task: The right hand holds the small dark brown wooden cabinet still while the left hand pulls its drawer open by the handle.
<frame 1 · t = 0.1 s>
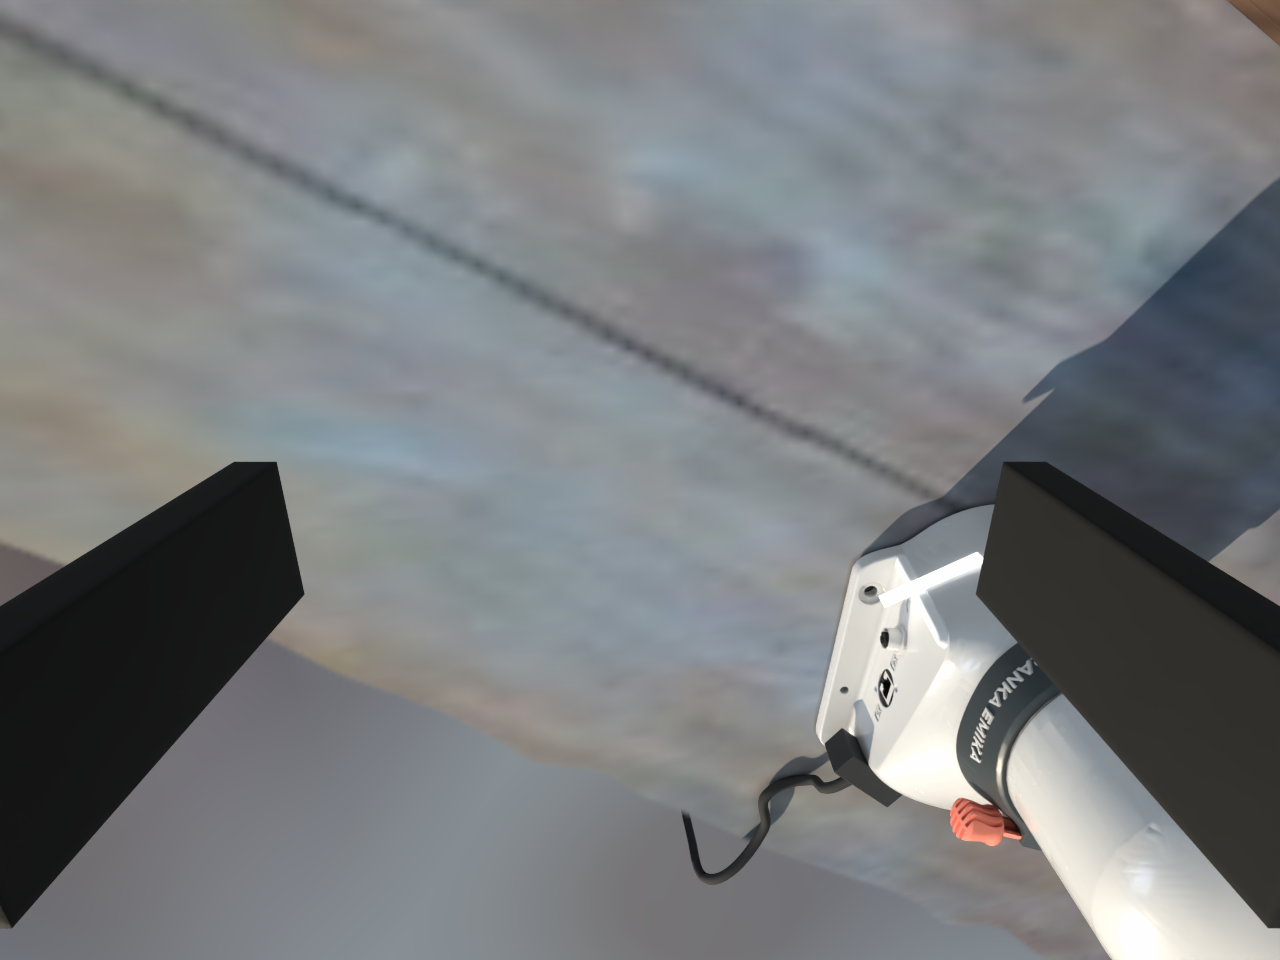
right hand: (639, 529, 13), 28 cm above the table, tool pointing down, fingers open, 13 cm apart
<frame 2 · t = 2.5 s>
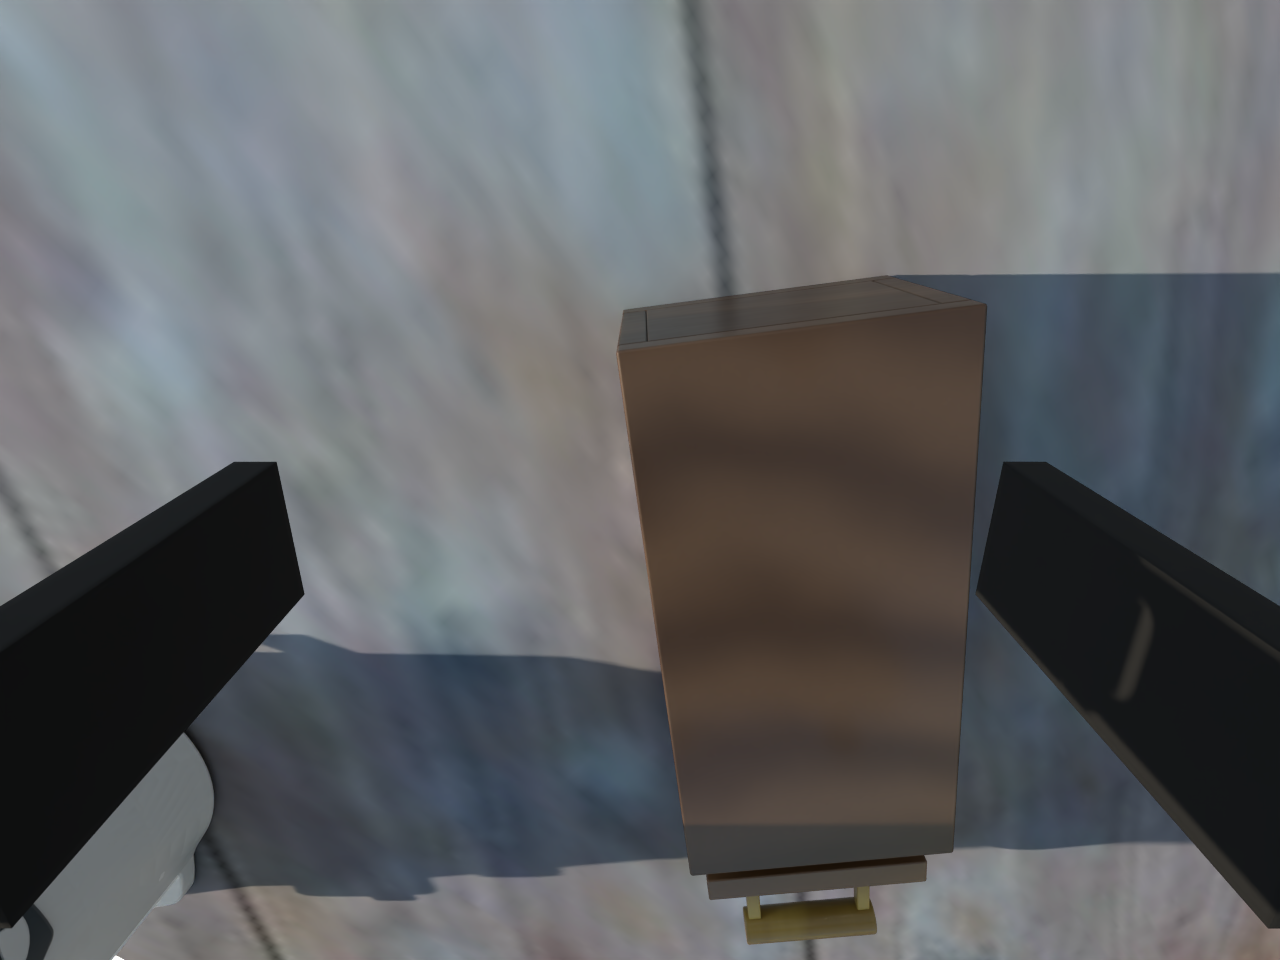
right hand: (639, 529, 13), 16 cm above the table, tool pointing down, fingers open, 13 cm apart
drawer: (794, 710, 29), point 4 cm above the table, slide at 1.6 cm
cabinet: (769, 533, 31), on the table
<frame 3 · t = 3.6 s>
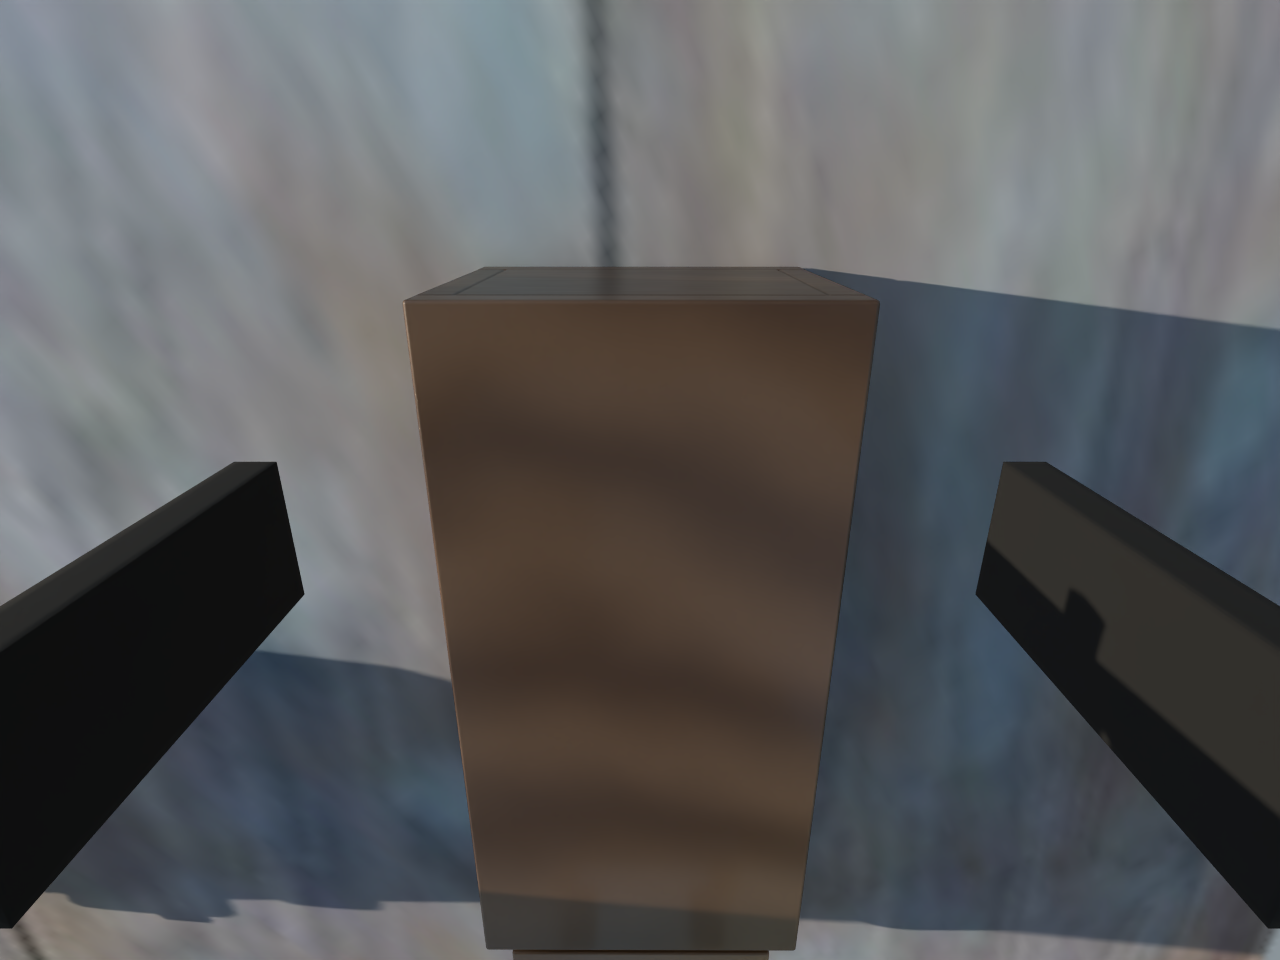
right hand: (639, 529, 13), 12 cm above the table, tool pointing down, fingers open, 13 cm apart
drawer: (641, 762, 25), point 4 cm above the table, slide at 1.6 cm
cabinet: (641, 553, 26), on the table
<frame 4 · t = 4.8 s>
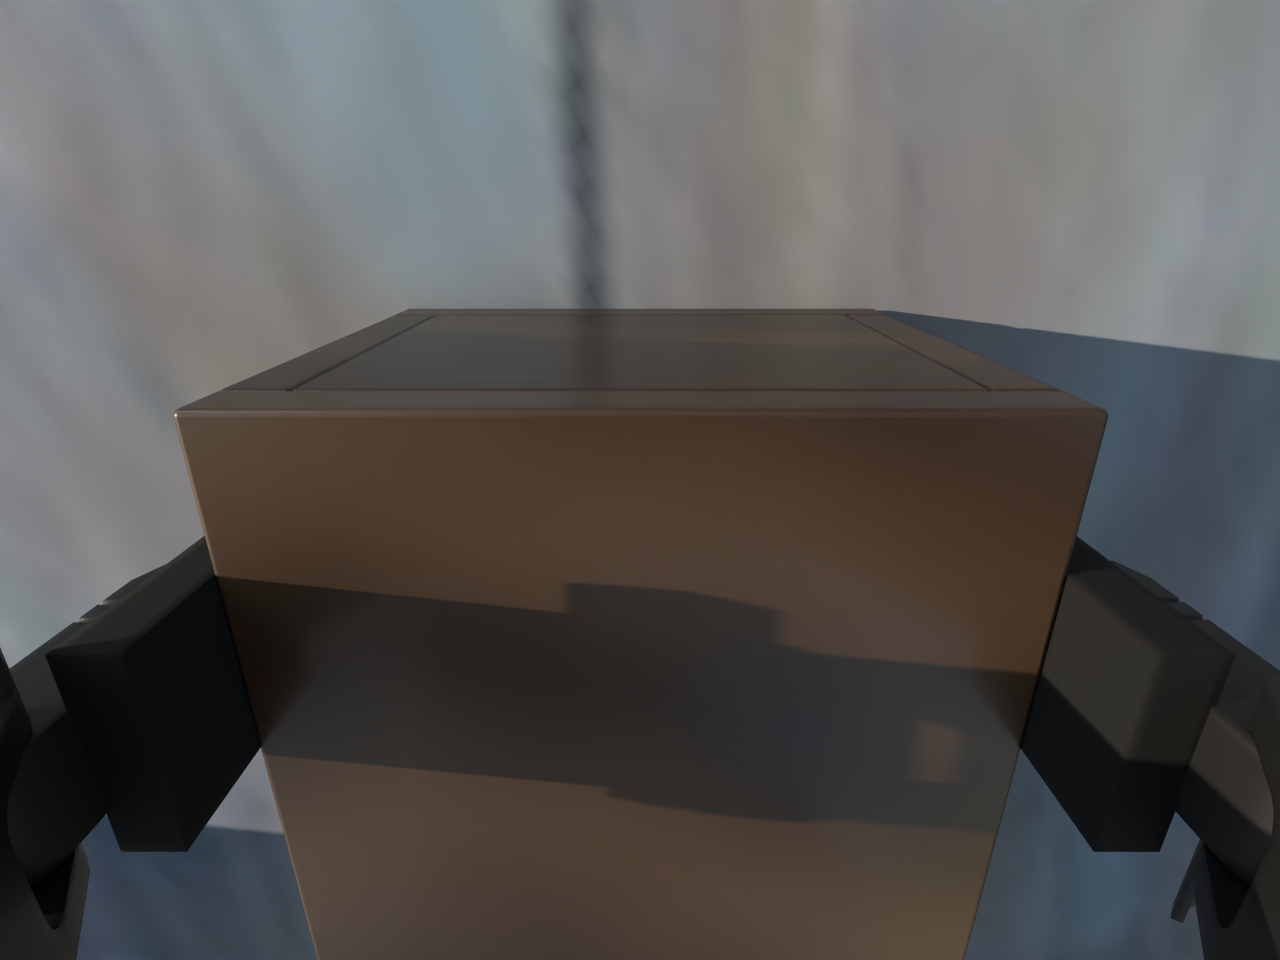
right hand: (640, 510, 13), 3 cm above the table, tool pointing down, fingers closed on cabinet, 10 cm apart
cabinet: (640, 696, 19), on the table, touching right hand
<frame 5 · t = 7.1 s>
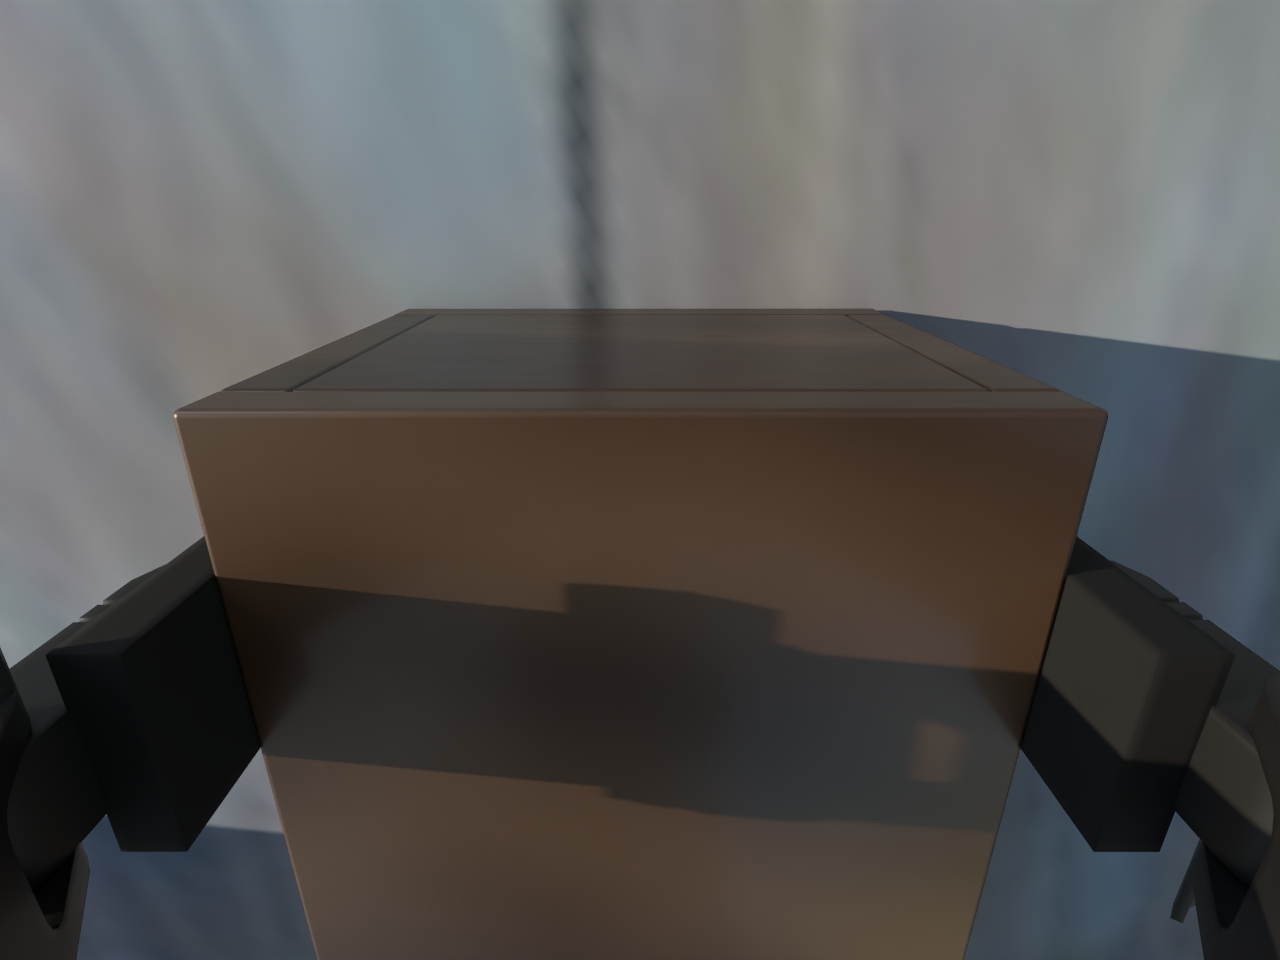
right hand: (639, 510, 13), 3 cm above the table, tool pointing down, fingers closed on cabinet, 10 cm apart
cabinet: (640, 696, 19), on the table, touching right hand
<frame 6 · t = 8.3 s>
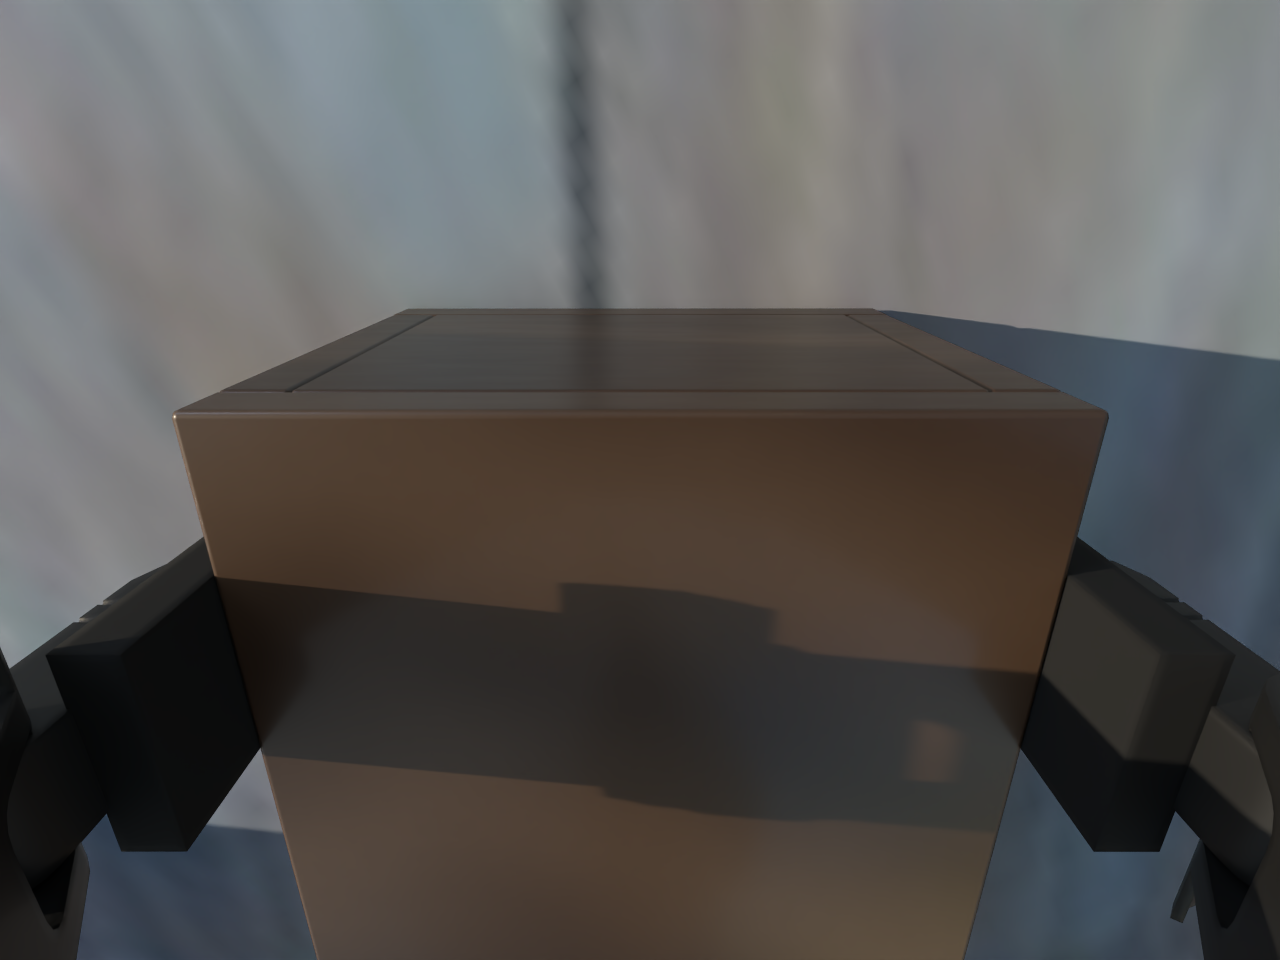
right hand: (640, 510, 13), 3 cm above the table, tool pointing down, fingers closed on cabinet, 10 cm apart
cabinet: (640, 696, 19), on the table, touching right hand
when the right hand's fingers open (3 cm above the table, at t = 10.1 s): cabinet stays where it is, on the table.
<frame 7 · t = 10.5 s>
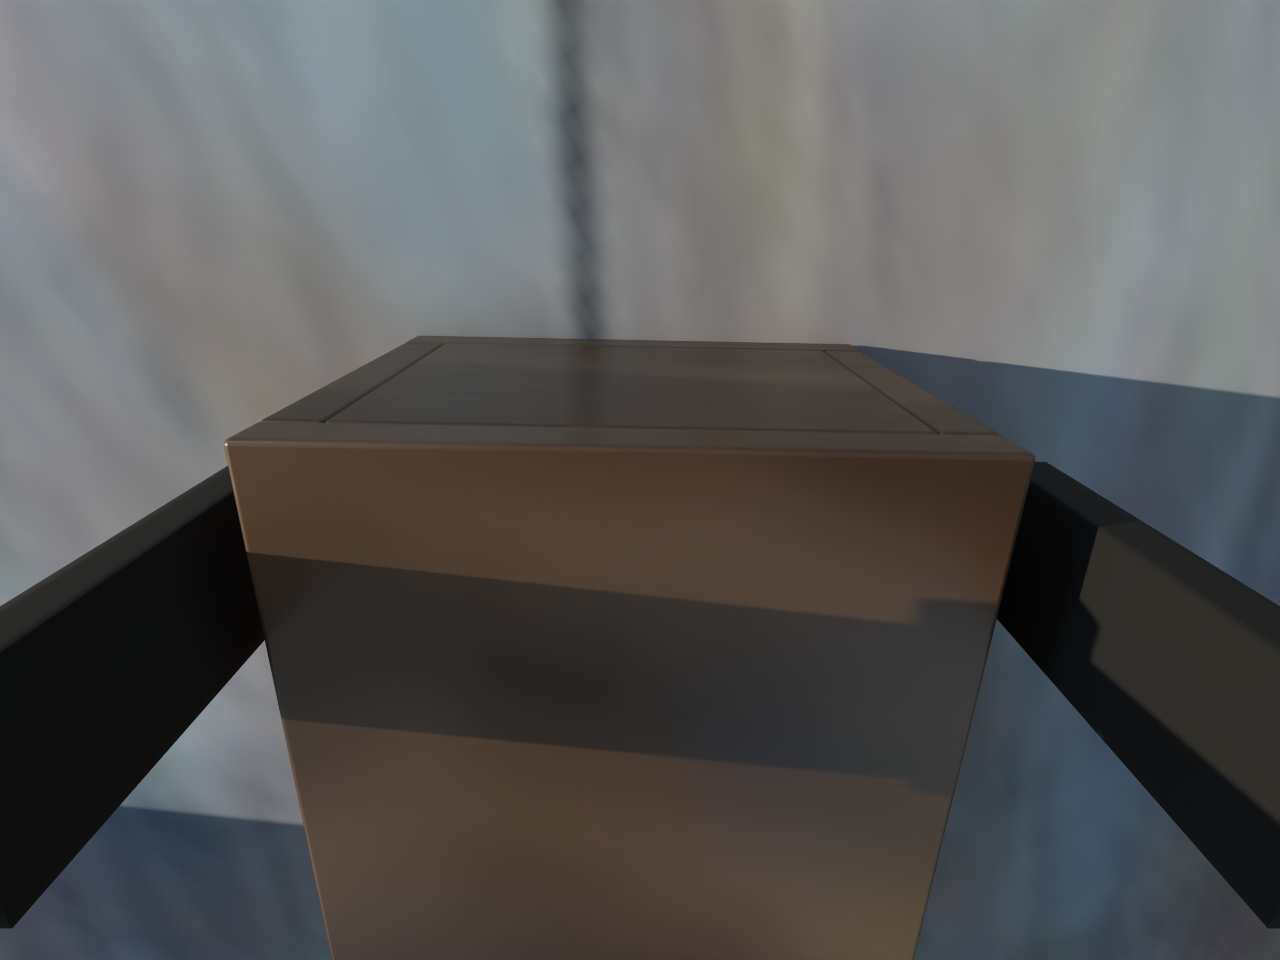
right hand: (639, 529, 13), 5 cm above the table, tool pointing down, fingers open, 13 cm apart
cabinet: (628, 701, 20), on the table
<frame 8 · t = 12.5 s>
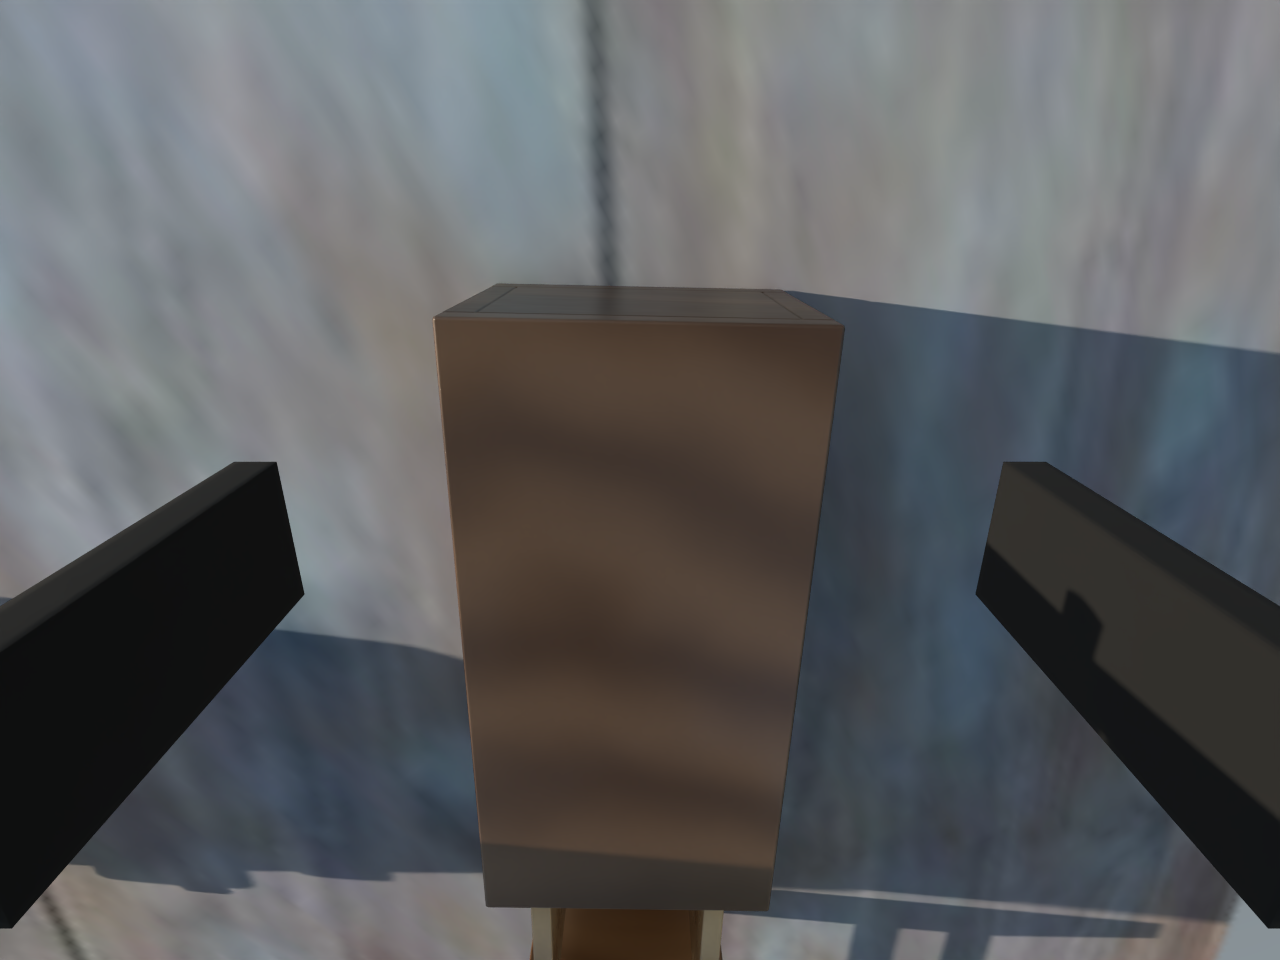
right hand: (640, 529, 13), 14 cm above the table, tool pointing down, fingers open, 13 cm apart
drawer: (627, 877, 30), point 4 cm above the table, slide at 9.3 cm
cabinet: (634, 547, 29), on the table
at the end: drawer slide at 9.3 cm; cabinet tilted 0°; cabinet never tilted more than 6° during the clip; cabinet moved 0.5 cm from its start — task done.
